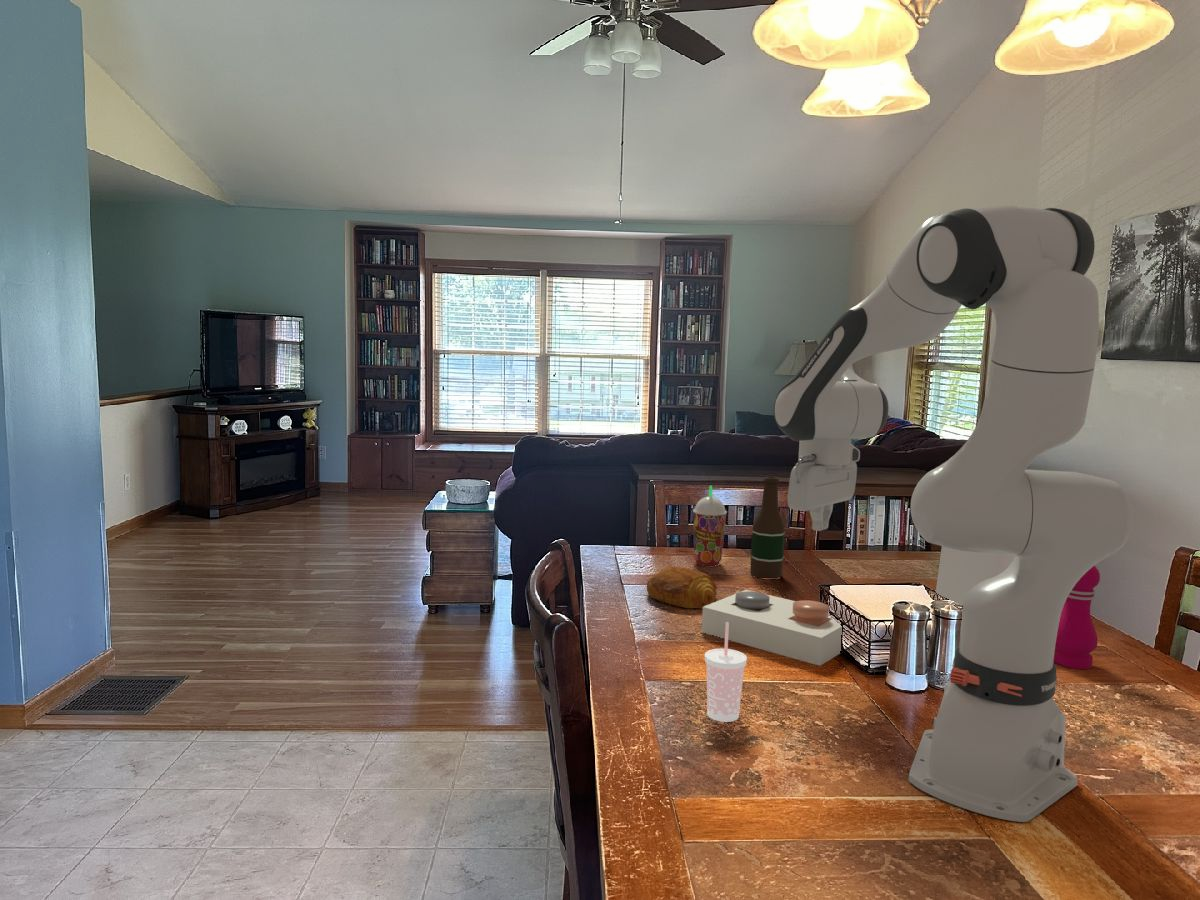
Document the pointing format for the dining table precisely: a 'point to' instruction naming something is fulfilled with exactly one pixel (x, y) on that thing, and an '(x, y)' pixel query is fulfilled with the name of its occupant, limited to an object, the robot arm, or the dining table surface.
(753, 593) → the graphite button
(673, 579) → the croissant
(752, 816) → the dining table surface
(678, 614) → the dining table surface
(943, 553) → the milk
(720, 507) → the smoothie
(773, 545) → the beer bottle
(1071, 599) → the pepper mill
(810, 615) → the terracotta button
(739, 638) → the button panel
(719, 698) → the beverage cup
